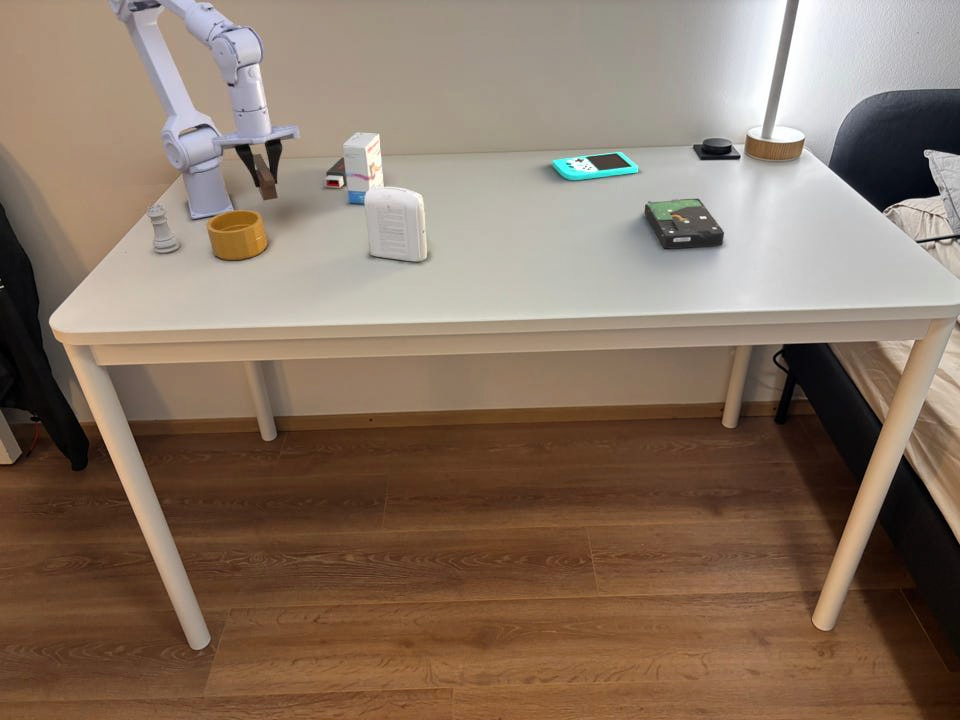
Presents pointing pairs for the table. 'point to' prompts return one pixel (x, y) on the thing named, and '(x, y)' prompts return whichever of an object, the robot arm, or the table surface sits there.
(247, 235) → the bowl
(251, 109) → the robot arm
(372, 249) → the photo printer
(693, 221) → the disk drive
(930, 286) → the table surface
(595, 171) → the handheld game console
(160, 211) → the rook chess piece
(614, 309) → the table surface
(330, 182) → the usb drive
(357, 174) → the ink box
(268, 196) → the tall wooden post
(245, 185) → the table surface
